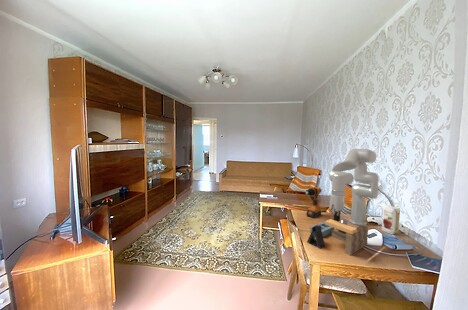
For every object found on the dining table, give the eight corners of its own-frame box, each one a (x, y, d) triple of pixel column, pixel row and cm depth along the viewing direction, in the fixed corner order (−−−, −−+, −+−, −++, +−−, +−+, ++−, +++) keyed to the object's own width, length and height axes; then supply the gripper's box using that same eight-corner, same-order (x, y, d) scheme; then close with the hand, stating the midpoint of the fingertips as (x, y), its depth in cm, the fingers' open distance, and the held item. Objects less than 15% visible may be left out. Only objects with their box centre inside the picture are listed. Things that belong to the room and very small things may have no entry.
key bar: (330, 222, 127) (330, 219, 127) (356, 231, 114) (357, 228, 114) (325, 224, 124) (325, 221, 124) (351, 234, 111) (352, 231, 111)
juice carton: (386, 228, 149) (388, 204, 148) (399, 233, 141) (401, 208, 140) (380, 230, 147) (382, 205, 145) (392, 235, 139) (394, 209, 137)
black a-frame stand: (325, 245, 123) (326, 227, 122) (320, 248, 120) (321, 229, 119) (311, 239, 130) (312, 222, 129) (306, 242, 127) (307, 224, 126)
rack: (322, 228, 148) (322, 221, 147) (334, 233, 140) (334, 226, 140) (309, 233, 139) (310, 226, 138) (321, 239, 131) (322, 232, 131)
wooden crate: (339, 233, 140) (340, 216, 138) (367, 245, 125) (369, 225, 124) (320, 242, 126) (321, 223, 125) (350, 256, 112) (351, 235, 111)
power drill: (309, 220, 162) (311, 190, 160) (301, 217, 168) (303, 189, 166) (322, 214, 175) (324, 187, 173) (314, 212, 181) (316, 185, 179)
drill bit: (341, 235, 135) (342, 218, 134) (347, 237, 132) (348, 220, 131) (338, 236, 133) (339, 219, 132) (344, 239, 130) (345, 221, 129)
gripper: (338, 189, 132) (336, 216, 133) (326, 193, 123) (324, 221, 125) (350, 192, 126) (348, 220, 127) (337, 196, 117) (336, 225, 119)
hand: (336, 220), depth 126 cm, fingers closed
